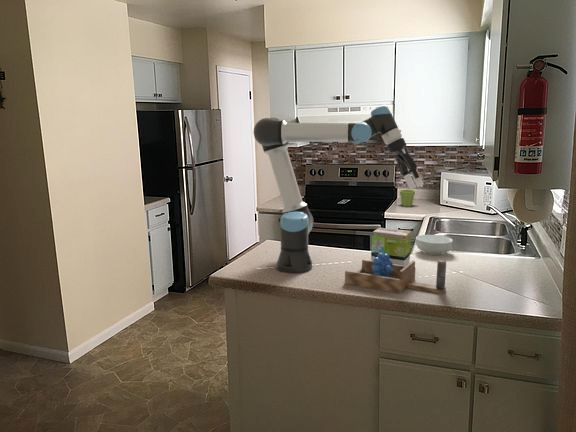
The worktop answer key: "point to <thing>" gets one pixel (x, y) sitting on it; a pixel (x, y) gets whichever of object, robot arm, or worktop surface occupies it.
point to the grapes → (382, 265)
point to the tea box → (392, 245)
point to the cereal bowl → (433, 244)
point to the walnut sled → (396, 285)
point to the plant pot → (407, 197)
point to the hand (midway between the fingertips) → (416, 187)
